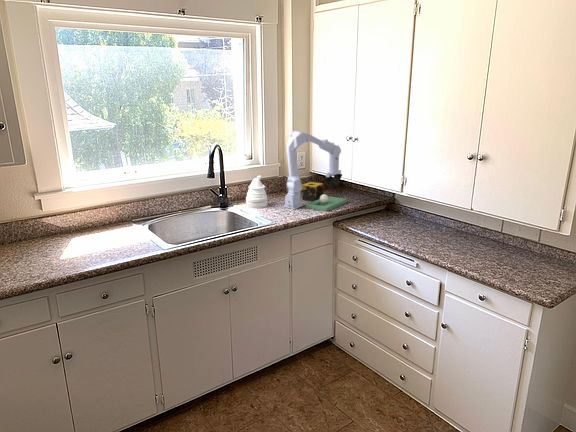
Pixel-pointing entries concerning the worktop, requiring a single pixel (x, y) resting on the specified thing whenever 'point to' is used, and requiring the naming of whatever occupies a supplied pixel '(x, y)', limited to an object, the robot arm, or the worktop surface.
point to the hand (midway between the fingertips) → (333, 186)
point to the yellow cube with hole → (312, 191)
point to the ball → (323, 198)
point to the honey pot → (256, 195)
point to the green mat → (326, 204)
